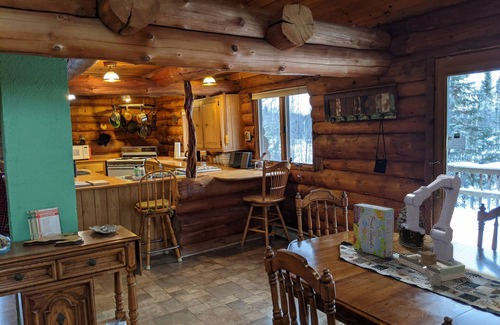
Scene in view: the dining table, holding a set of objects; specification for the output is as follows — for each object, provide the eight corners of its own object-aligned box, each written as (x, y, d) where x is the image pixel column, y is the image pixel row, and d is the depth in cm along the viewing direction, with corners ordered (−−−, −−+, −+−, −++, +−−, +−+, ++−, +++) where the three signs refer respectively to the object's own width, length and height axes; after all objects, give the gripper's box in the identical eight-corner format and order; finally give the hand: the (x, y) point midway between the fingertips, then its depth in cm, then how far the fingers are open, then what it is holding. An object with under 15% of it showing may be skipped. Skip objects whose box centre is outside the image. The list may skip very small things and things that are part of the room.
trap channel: (419, 258, 209) (419, 248, 209) (465, 276, 183) (465, 265, 182) (398, 261, 204) (398, 251, 204) (441, 281, 178) (442, 269, 178)
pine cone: (431, 249, 223) (432, 205, 220) (404, 250, 223) (405, 206, 221) (416, 239, 244) (417, 199, 241) (391, 239, 244) (392, 199, 241)
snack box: (394, 255, 214) (395, 208, 212) (384, 258, 209) (384, 210, 207) (362, 246, 232) (362, 202, 229) (352, 248, 227) (352, 204, 225)
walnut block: (428, 260, 198) (428, 251, 197) (436, 264, 193) (436, 254, 192) (420, 262, 196) (420, 252, 195) (428, 265, 191) (428, 255, 191)
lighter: (439, 284, 175) (440, 266, 174) (440, 285, 173) (441, 268, 172) (422, 283, 176) (422, 265, 176) (423, 284, 175) (423, 267, 174)
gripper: (396, 215, 203) (395, 241, 205) (417, 222, 190) (416, 249, 191) (407, 214, 206) (406, 240, 207) (428, 220, 192) (428, 247, 194)
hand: (412, 244), depth 199 cm, fingers open, 7 cm apart
